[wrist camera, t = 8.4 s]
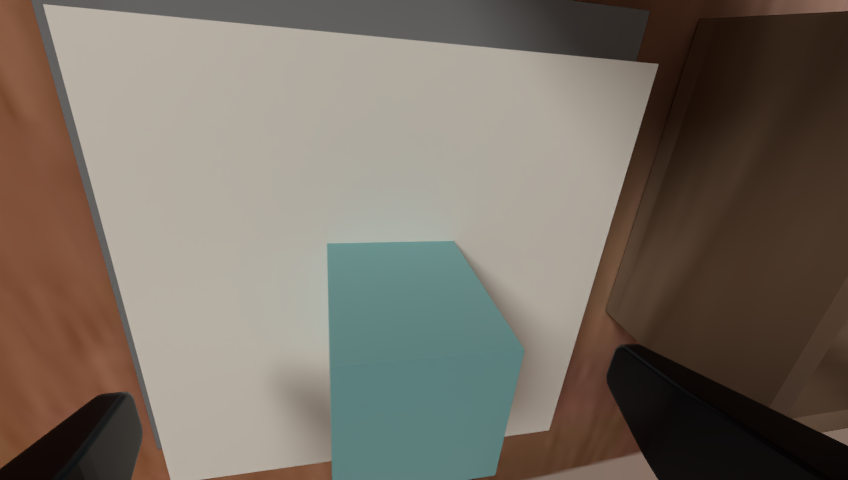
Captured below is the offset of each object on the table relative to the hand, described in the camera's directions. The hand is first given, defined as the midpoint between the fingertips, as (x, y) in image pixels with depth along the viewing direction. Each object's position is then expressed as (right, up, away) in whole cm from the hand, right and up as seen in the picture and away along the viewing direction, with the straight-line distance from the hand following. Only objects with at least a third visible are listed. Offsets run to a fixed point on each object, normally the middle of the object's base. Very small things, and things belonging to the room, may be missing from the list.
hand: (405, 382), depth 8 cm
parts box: (+13, +5, +7) cm, 15 cm away
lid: (-1, +2, +5) cm, 5 cm away
